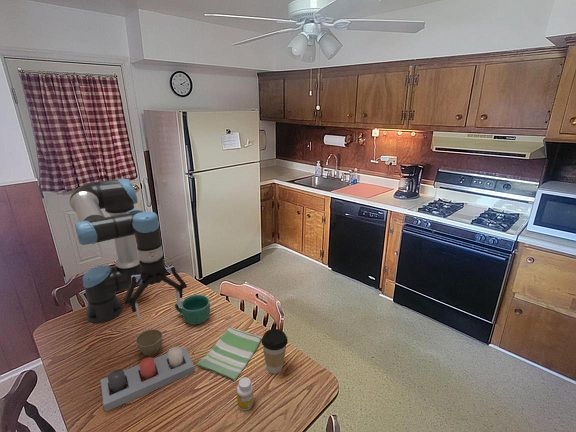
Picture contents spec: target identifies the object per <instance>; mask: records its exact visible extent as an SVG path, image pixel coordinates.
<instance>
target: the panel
mask: <svg viewBox="0 0 576 432" xmlns="http://www.w3.org/2000/svg"><path fill="white" fill-rule="evenodd" d="M180 348H181V349H182V355H183V365H181V366H178V367H176V368H174V369H172V368H170V364H169V357H168V352H167V353H164V354H163V355H160V356H157V357H154V358H153V359H154V362H155V368H156V376H155V377H152V378H150V379H148V380H145V381H144V380H142V378H141V372H140V366H139V364H137V365H135V366H132V367H130V368H127V369H123V371H124V375H125V379H126V383H127V385H128V387H126V389H124V390H122V391H119V392H117V393H115V394H112V393H111V391H110V386H109V381H108V376H107V377H104V378H101V379H100V386H101V395H102V404H103V408H104V412H109V411H110V410H113V409H115V408H117V407H120V406H122V405H125V404H127V403H128V402H131V401H133V400H135V399H138V398H140V397H142V396H144V395H147V394H149V393H151V392H153V391H155V390H158V389H161V388H162V387H165V386H167V385H169V384H171V383H173V382H176V381H179V380H180V379H182V378H185V377H187V376H189V375H191V374H192V375H193V374H195V373H196V370H195V365H194V363H193V361H192V359H191V357H190V355H189V352H188V350H187V349H186V346H182V347H180ZM110 393H111V394H110Z"/></svg>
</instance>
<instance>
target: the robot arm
mask: <svg viewBox="0 0 576 432" xmlns="http://www.w3.org/2000/svg"><path fill="white" fill-rule="evenodd" d="M138 201H139V200H138V196H137V193H136V190H135V188H134V185H133V183H132V181H131V180H130V179H128V178H120V179H119V178H115V179H110V180H109V179H108V180H101V181H92V182H87V183H85V184H82V185H80V186H78V187H77V188H76V189H75V190H74V191H73V192H71V195H70V198H69V205H70V208H71V209H72V211H73V212H75V213H76V215H77V217H78V222H76V223H74V227H75V232H76V236H77V240H78V243H79V244H80V245H81V246H86V245H94V244H97V243H98V244H99V243H101V242H106V241H110V240H111V241H112V240H114V245H115V249H116V256H117V260H116V261H115V263H114V264H115V265H114V267H111V266H110V265H107V264H105V265H98V266H95V267H92V268H91V269H89V270H87V271H86V272H85V273H84V275H83V276H82V282H83V284H82V286H83V288H84V292H85V296H86V299H87V307H86V311H85V312H86V314H85V315H86V319H87V321H88V322H90V323H92V324H100V323H101V324H102V323H105V322H110V321H112V320H113V319H115V318H117V317H119V316H120V314H121V313H123V310H124V307H123V304H122V301H121V300H120V299H119V298H118V296H117V293H116V292H120V291H123V290H126V294H125V296H124V298H123V302H124V305H125V306H126V305H130V306H131V310H132V311H131V312H133V313H136V318H137V322H138V321H141V316H140V315H141V314H140V310H139V303H138V299H139V298H140V297H141V295H142V294H143V292H144V291H145V289H147V287H148V286H149V285H150V286H152V285H153V286H154V285H155V284H160V283H161V282H164V283H165V284H168V285H169V286H170V287H172V288H174V290H175V291H174V292H175V297H176V302H177V305H178V307H179V308H182V307H181V302H180V301H181V299H182V298H183V295H184V294H183V290H184V289H186V288H187V287H188V285H187V283H186V282H185V281H184V280H183V278H182V277H181V276H180V274H179V273H178V272H177V271H176V268H175V266H174V265H173V264H170V266H169V267H168V266H167V267H166V266H165V258H164V251H163V245H162V244H163V243H162V237H161V229H160V221H159V217H158V214H157V213H156V212H154V211H143V210H142V209H137V208H135V205H136V204H137V203H138ZM102 209H103V210H105V213H107V214H109V216H107V217H106V216H105V214H104V213H103V211H102ZM167 273H170V274H172V275H173V277H175V279H176V280H177V281H178V282H179V283H180V284H179V283H178V282H176V281H174V280H173V279H171V278H170V277H168V276H167ZM137 286H138V287H137ZM136 287H137V289H136V290H135V288H136Z"/></svg>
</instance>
